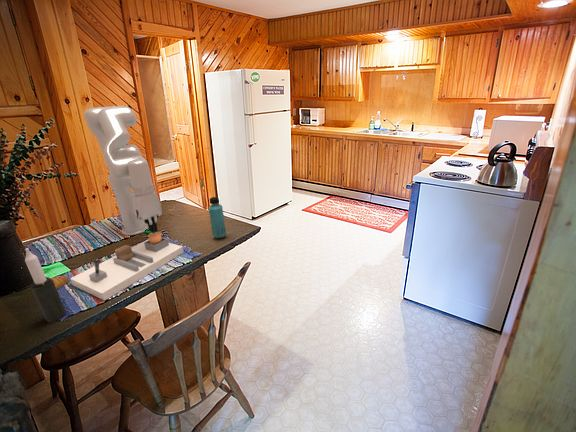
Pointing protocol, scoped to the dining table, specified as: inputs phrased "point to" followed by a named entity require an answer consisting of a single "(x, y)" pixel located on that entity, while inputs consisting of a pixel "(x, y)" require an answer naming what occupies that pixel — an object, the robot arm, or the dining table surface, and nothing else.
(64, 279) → the pastry
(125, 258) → the slider knob
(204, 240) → the dining table surface
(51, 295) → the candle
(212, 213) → the beverage bottle
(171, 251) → the control panel
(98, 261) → the toggle lever
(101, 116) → the robot arm
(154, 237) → the push button
